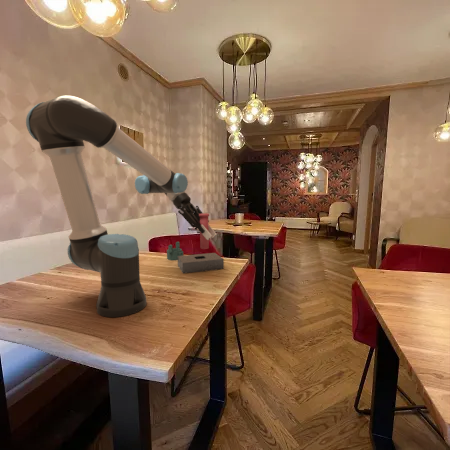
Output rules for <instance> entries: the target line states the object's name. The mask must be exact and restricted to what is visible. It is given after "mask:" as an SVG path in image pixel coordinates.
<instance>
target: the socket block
mask: <svg viewBox="0 0 450 450" xmlns="http://www.w3.org/2000/svg"><path fill="white" fill-rule="evenodd" d="M224 262H225V259H224V258H223V257H222V256H220V255H218V254H217V253H216V252H208V253H198V254H188V255H184V254H183V256H178V260H177V267H178V268H179V270H180V271H181V274H191V273H200V272H208V271H209V272H210V271H218V270H225V268H224V267H225V265H224V264H225V263H224Z"/></svg>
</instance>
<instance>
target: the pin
mask: <svg viewBox="0 0 450 450" xmlns="http://www.w3.org/2000/svg"><path fill="white" fill-rule="evenodd" d="M199 217H200V224H201V225H202V224H203V226H204V227H205V228H206V229H207V230H208V224H209V222H208V220H209V217H210V213H208V212H207V213H205V212H204V213H203V212H202V214H199ZM199 234H200V235H199V237H200V238H199V240H200V241H199V242H200V249H201V250H209V248H210V247H209V246H210V245H209V244H210V242H209V240H210V239H209V240H207V239H206V238H205V237H204V236H203V234H202V233H201V232H200V231H199Z"/></svg>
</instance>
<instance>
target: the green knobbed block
mask: <svg viewBox="0 0 450 450" xmlns="http://www.w3.org/2000/svg"><path fill="white" fill-rule="evenodd" d="M180 243H181V242H180V241H176V242H175V247H173V245H172V244H169V245H168V247H167V248H168V249H166V260H167V259H168V261H178V256H184V250H182V248H180V247H181V246H180Z"/></svg>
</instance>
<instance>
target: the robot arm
mask: <svg viewBox="0 0 450 450" xmlns="http://www.w3.org/2000/svg"><path fill="white" fill-rule="evenodd" d="M25 125H26V129H27V131H28V133H29V134H30V136H31V138H33V139H34V140H35V141H36V142H38V143H39V146H40V149H41V152H42V153H43V154H44V155H47V156H48V157H49V159H50V163H51V165H52V170H53V173H54V176H55V179H56V181H57V186H58V188H59V193H60V195H61V198H62V201H63V205H64V207H65V210H66V211H65V212H66V215H67V218H68V222H69V225H70V227H71V233H70V234H69V236H68V239H69V245H68V247H67V255H68V259H69V260H70V262H71V263H72V264H73V265H75V266H76V267H78V268H80V269H84V270H87V271H93V272H97V273H99V274H100V285H101V287H100V290H99V293H98V298H97V301H96V312H97V314H98V315H99V316H101V317H105V318H119V317H127V316H129V315H133V314H135V313H138V312H140V311H142V310H143V309H144V308H145V307H146V306H147V295H146V294H145V291H144V288H143V286H142V283H141V277H140V249H139V243H138V240H137V238H136V237H135V236H133V235H129V234H124V233H123V234H119V233H110V234H109V232H108V230H107V228H106V227H105V226H104V225H102V224H101V222H100V219H99V218H100V217H99V215H98V211H97V207H96V203H95V200H94V197H93V196H94V195H93V193H92V188H91V186H90V182H89V178H88V173H87V172H86V167H85V163H84V159H83V156H82V152H83V151H84V149H85V148H86V147H85V143H84V142H86V143H88V144H91V145H93V146H94V147H96V148H98V149H101V148H103V149H105V150H107V151H108V152H109V153H111V154H112V155H113V156H115V157H117V158H118V159H120V160H121V161H123V162H124V163H125V164H127V165H128V166H129V167H131V168H133V169H135V171H137V172H139V173H140V174H141V175H138V176H136V178H135V179H134V187H135V190H136V191H137V193H139V194H141V195H143V194H145V195H148V194H164V195H165V196H166V197H167V198H168V199H169V201H170V202H171V203H172V205H174V206H175V208H176V209H177V210H178V211H177V213H178V214H179V215H181V216H182V217H183V218H184V220H185V221H186V222H187V223H188V224H189V226H191V228H192V229H194V230H198V231H199V233H200V232H201V233H202V234H203V236H204V237H205V238H206V239H207V240H210V239H214V238H215V236H217V234H218V233H216V231H215V230H214V229H213V228H212V226H211V225H210V224H209V223H210V220H209V219H208V230H207V229H206V228H205V227H204V226H203V224H202V225H201V224H200V217H199V214H202V213H203V211H202V210H201V209H200V207H199V205H196V206H194V204H193V203H191V200H192V199H191V197H190V195H188V193H187V192H186V190H188V183H189V181H188V178H187V175H185V174H184V173H181V172H176V173H175V172H174V171H173V170H171V169H170V168H169V167H167V165H165V164H164V163H163V162H161V161H160V160H159V159H158V158H156V156H154V155H153V154H152V153H151V152H149V151H148V150H147V149H145V147H143V146H142V145H141V144H139V143H138V142H136V140H134V139H133V138H132V137H131V136H129V135H128V134H126V133H125V132H124V131H123V130H122V129H120V128H119V126H118V122H117V121H116V120H115V119H114V118H112V117H111V116H110V115H108V114H107V113H106V112H105V111H104V110H102V109H101V108H99V107H97V106H96V105H94V104H93V103H91V102H89V101H87V100H86V99H83V98H80V97H77V96H76V95H75V96H74V95H68V94H67V95H60V96H57V97H54V98H53V99H49V100H46V101H44V102H43V101H42V102H39V103H37V104H35V105H34V106H33V107H32V108H31V109H30V110H29V111H28V112H27V114H26V118H25Z"/></svg>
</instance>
